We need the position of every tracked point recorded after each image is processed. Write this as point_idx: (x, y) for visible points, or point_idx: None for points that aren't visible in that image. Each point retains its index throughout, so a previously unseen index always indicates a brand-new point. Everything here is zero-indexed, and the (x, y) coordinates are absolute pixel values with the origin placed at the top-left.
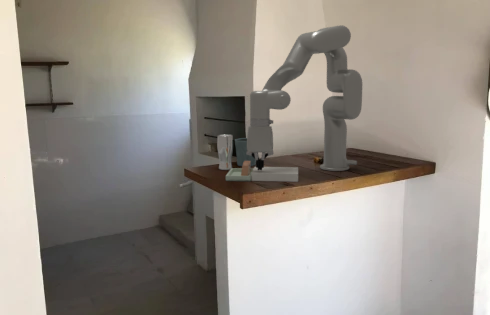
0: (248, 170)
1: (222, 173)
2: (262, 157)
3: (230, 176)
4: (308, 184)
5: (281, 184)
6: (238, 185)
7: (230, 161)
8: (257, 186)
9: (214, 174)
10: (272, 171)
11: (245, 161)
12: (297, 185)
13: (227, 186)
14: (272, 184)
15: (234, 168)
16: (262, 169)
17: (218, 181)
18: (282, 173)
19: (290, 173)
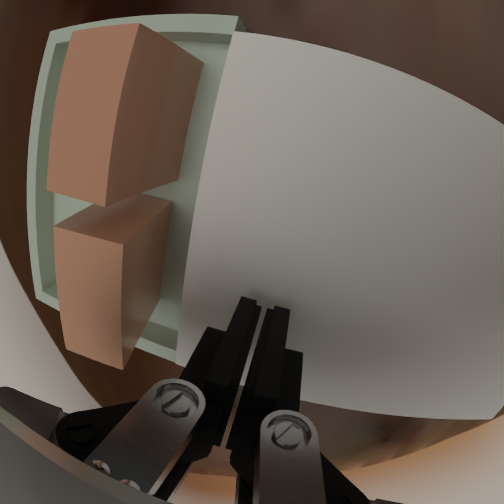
0: (141, 310)
1: (32, 66)
2: (252, 493)
3: (58, 307)
4: (476, 425)
5: (366, 427)
6: (133, 390)
7: None
8: (227, 431)
9: (3, 102)
10: (387, 345)
11: (72, 79)
12: (426, 440)
13: (93, 384)
14: (318, 422)
15: (65, 35)
16: (310, 225)
17: (33, 284)
18: (423, 411)
19: (467, 411)
